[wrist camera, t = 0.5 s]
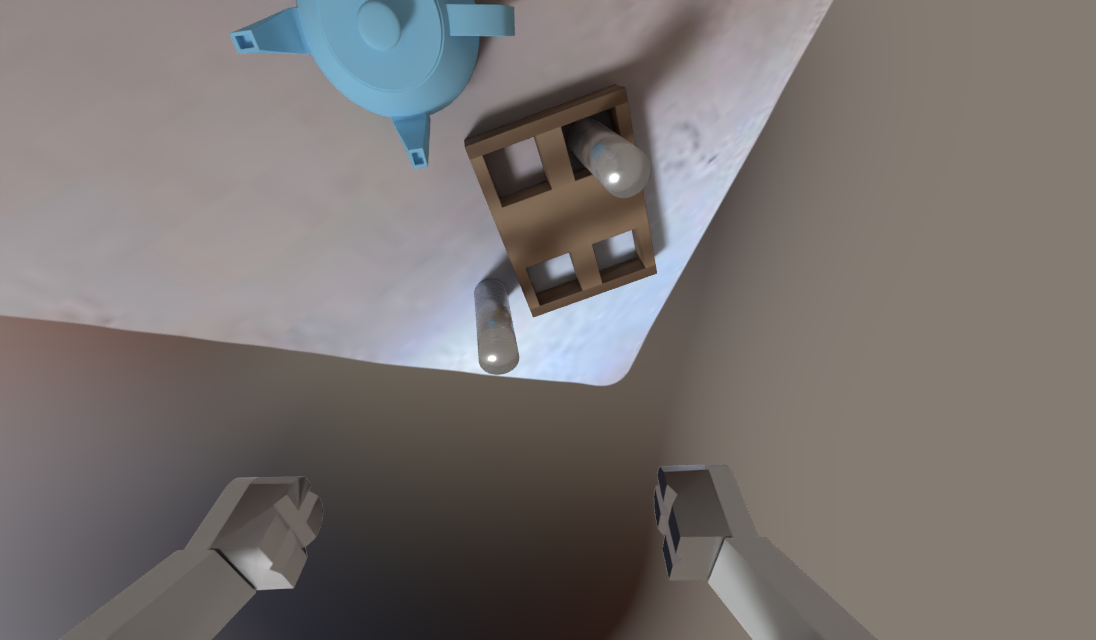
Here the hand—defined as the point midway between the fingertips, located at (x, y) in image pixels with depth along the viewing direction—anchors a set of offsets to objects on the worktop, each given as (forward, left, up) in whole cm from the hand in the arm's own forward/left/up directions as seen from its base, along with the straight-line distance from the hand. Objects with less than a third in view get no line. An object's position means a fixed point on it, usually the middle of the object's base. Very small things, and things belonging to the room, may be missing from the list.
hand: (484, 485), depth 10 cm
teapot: (-10, -2, -41) cm, 42 cm away
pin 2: (+5, +12, -40) cm, 42 cm away
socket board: (+11, +8, -40) cm, 43 cm away
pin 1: (+18, -4, -40) cm, 44 cm away
